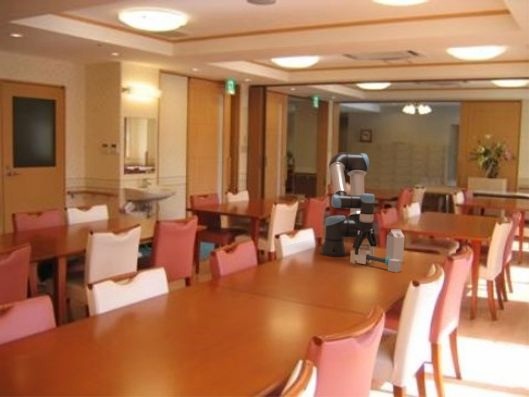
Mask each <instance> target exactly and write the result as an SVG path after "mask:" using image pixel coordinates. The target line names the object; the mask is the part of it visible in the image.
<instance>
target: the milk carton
mask: <svg viewBox="0 0 529 397" xmlns="http://www.w3.org/2000/svg"><path fill="white" fill-rule="evenodd" d="M385 246H386V248H385V259H386V258H387V257H389V258H391V259H398V260H401V263H403V262H404V251H405V249H404V248H405V235H404V233H403V232H402V229H401V228H396V229H394V228H393V229H391V230H390V232H388V234H387V235H386V245H385Z"/></svg>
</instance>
